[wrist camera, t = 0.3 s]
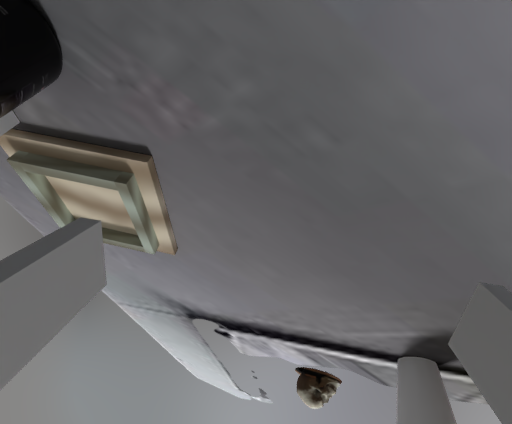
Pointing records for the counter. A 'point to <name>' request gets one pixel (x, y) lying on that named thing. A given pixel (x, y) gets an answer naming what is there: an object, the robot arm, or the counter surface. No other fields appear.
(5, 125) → the bracket
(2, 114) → the supplement bottle
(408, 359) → the foam cup
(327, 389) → the skull
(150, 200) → the seating station
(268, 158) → the counter surface
